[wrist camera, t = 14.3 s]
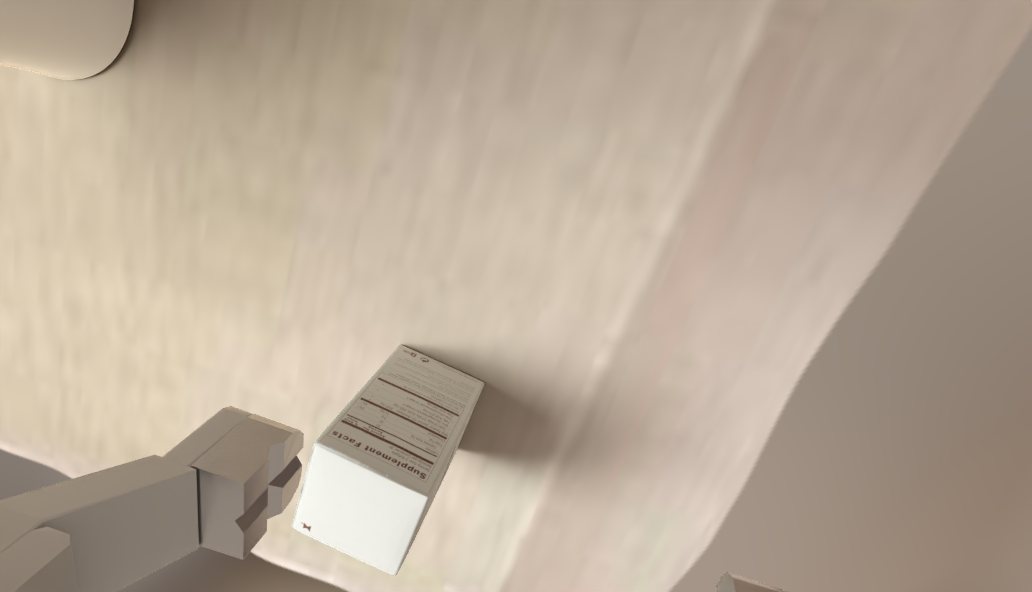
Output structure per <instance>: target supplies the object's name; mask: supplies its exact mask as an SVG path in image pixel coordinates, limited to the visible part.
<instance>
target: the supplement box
mask: <svg viewBox="0 0 1032 592" xmlns="http://www.w3.org/2000/svg"><path fill="white" fill-rule="evenodd" d="M483 387H484V382H482V381H480V380H478V379H476V378H474V377H472V376H470V375H467V374H465V373H463V372H461V371H459V370H456V369H454V368H452V367H450V366H448V365H446V364H443V363H441V362H439V361H437V360H434V359H432V358H430V357H428V356H426V355H424V354H421V353H419V352H417V351H414V350H412V349H410V348H408V347H405V346H403V345H399V346H398V348H397V349H396V350H395V351H394V352H393V353H392V354H391V356H390V357H389V358H388V359H387V360H386V362H385V363H384V364H383V365H382V366H381V367H380V368H379V370H378V371H377V372H376V373H375V374H374V375H373V376H372V377H371V379H370V380H369V381H368V382H367V383H366V384H365V385H364V387H363V388H362V389H361V390H360V391H359V392H358V393H357V394H356V396H355V397H354V398H353V399H352V400H351V401H350V402H349V403H348V405H347V406H346V407H345V408H344V409H343V410H342V411H341V412H340V414H339V415H338V416H337V417H336V418H335V419H334V420H333V422H332V423H331V424H330V425H329V426H328V427H327V428H326V430H325V431H324V432H323V433H322V434H321V436H320V437H319V438H318V439H317V440H316V442H315V443H314V445H313V449H312V452H311V456H310V460H309V464H308V467H307V471H306V475H305V478H304V482H303V485H302V488H301V492H300V497H299V500H298V504H297V508H296V512H295V515H294V519H293V522H292V525H291V526H292V528H294V529H296V530H297V531H299V532H301V533H303V534H305V535H307V536H309V537H311V538H313V539H315V540H317V541H319V542H321V543H324V544H326V545H328V546H330V547H332V548H334V549H336V550H339V551H341V552H343V553H345V554H347V555H349V556H352V557H354V558H356V559H358V560H360V561H362V562H364V563H367V564H369V565H371V566H373V567H375V568H377V569H379V570H381V571H384V572H386V573H388V574H391V575H394V576H395V575H397V573H398V571H399V569H400V567H401V565H402V563H403V561H404V559H405V558H406V556H407V554H408V552H409V549H410V547H411V545H412V543H413V541H414V539H415V537H416V535H417V533H418V531H419V529H420V527H421V524H422V522H423V520H424V518H425V516H426V514H427V512H428V510H429V508H430V506H431V504H432V502H433V499H434V497H435V495H436V493H437V491H438V489H439V487H440V485H441V483H442V480H443V478H444V476H445V474H446V472H447V470H448V468H449V465H450V463H451V461H452V459H453V457H454V455H455V453H456V450H457V448H458V446H459V443H460V441H461V439H462V436H463V434H464V431H465V429H466V427H467V424H468V422H469V420H470V417H471V415H472V412H473V410H474V408H475V405H476V403H477V400H478V398H479V396H480V394H481V391H482V389H483Z"/></svg>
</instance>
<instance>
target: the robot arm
mask: <svg viewBox="0 0 1032 592" xmlns="http://www.w3.org/2000/svg"><path fill="white" fill-rule="evenodd" d="M133 7H134V0H0V65H3V66H9V67H14V68H18V69H23V70H27V71H31V72H35V73H39V74H42V75H46V76H49V77H53V78H57V79H64V80H77V79H83V78H87V77H90V76H93V75H95V74H97V73H99V72H100V71H102V70H103V69H105V68H106V67H107V66H108V65H109V64H111V63H112V61H113V60H114V59H115V58H116V57H117V55H118V54H119V52H120V51H121V49H122V47H123V45H124V43H125V41H126V38H127V36H128V33H129V29H130V26H131V21H132V15H133ZM303 435H304V434H303V433H302V432H301V431H300V430H297V429H294V428H292V427H289V426H286V425H283V424H281V423H278V422H275V421H272V420H270V419H267V418H264V417H261V416H259V415H256V414H251V413H249V412H246V411H243V410H240V409H238V408H235V407H232V406H230V407H226V408H223V409H221V410H220V411H219V412H218V413H216V414H215V415H214V416H213V417H211V418H210V419H209V420H208V421H206V422H205V423H204V424H203V425H201V426H200V427H199V428H198V429H196V430H195V431H194V432H193V433H191V434H190V435H189V436H188V437H186V438H185V439H184V440H183V441H182V442H180V443H179V444H178V445H177V446H175V447H174V448H173V449H172V450H170V451H169V452H168V453H167V454H165V455H164V456H163V457H160V456H157V455H152V456H149V457H146V458H142V459H139V460H135V461H132V462H129V463H125V464H122V465H118V466H115V467H112V468H108V469H105V470H101V471H98V472H95V473H91V474H88V475H84V476H81V477H78V478H74V479H71V480H67V481H64V482H61V483H57V484H54V485H51V486H47V487H44V488H40V489H37V490H34V491H30V492H27V493H23V494H20V495H17V496H13V497H10V498H6V499H3V500H0V592H117V591H119V590H121V589H123V588H124V587H126V586H128V585H130V584H132V583H134V582H136V581H138V580H140V579H142V578H144V577H145V576H147V575H149V574H151V573H153V572H155V571H157V570H158V569H161V568H162V567H165V566H166V565H168V564H170V563H172V562H174V561H176V560H178V559H180V558H182V557H184V556H185V555H187V554H189V553H191V552H193V551H195V550H197V549H199V546H203V547H206V548H209V549H212V550H215V551H218V552H221V553H224V554H227V555H230V556H233V557H236V558H239V559H244V558H245V557H246V556H247V555H248V553H249V552H250V551H251V550H252V548H253V547H254V546H255V545H256V544H257V542H258V541H259V540H260V539H261V537H262V536H263V535H264V534H265V533H266V531H267V519H269V518H271V517H273V516H276V515H278V514H281V513H282V512H283V510H284V509H285V508H286V506H287V505H288V504H289V503H290V501H291V499H292V497H293V495H294V493H295V492H296V490H297V488H298V485H299V481H300V478H301V472H302V464H301V462H300V461H299V459H298V457H297V456H296V455H297V454H298V453H299V451H300V450H301V449H302V448H303ZM717 592H788V591H783V590H782V589H779V588H775V587H772V586H769V585H766V584H763V583H760V582H757V581H754V580H751V579H747V578H744V577H741V576H738V575H735V574H732V573H728V572H727V573H726V574H724V575H723V576H722V577H721V579H720V581H719V582H718V584H717Z"/></svg>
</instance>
